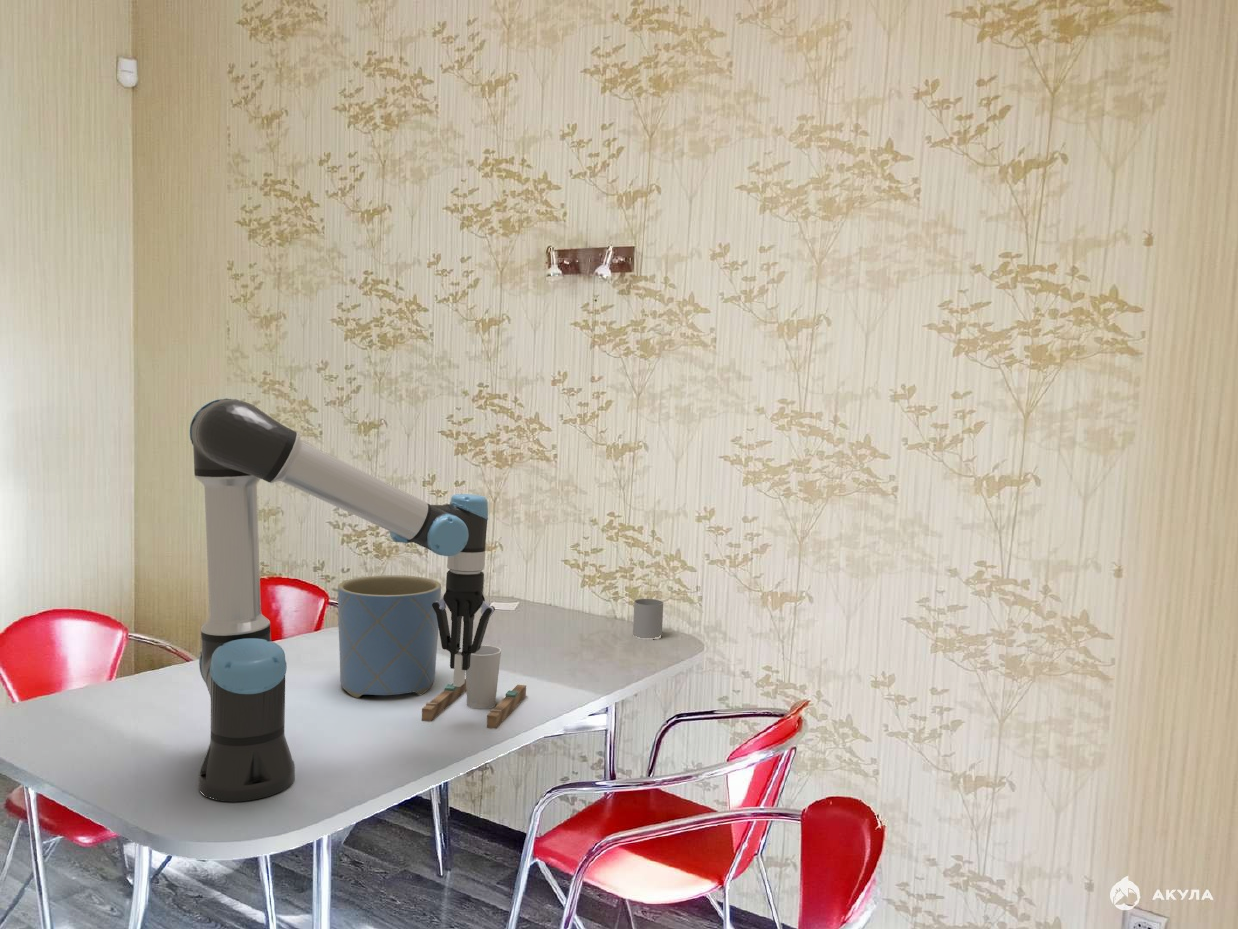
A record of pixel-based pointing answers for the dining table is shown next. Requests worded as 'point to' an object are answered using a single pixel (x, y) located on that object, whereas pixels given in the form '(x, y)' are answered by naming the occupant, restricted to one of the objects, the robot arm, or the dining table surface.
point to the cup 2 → (648, 618)
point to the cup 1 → (483, 677)
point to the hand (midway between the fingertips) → (458, 684)
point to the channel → (454, 692)
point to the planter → (387, 634)
